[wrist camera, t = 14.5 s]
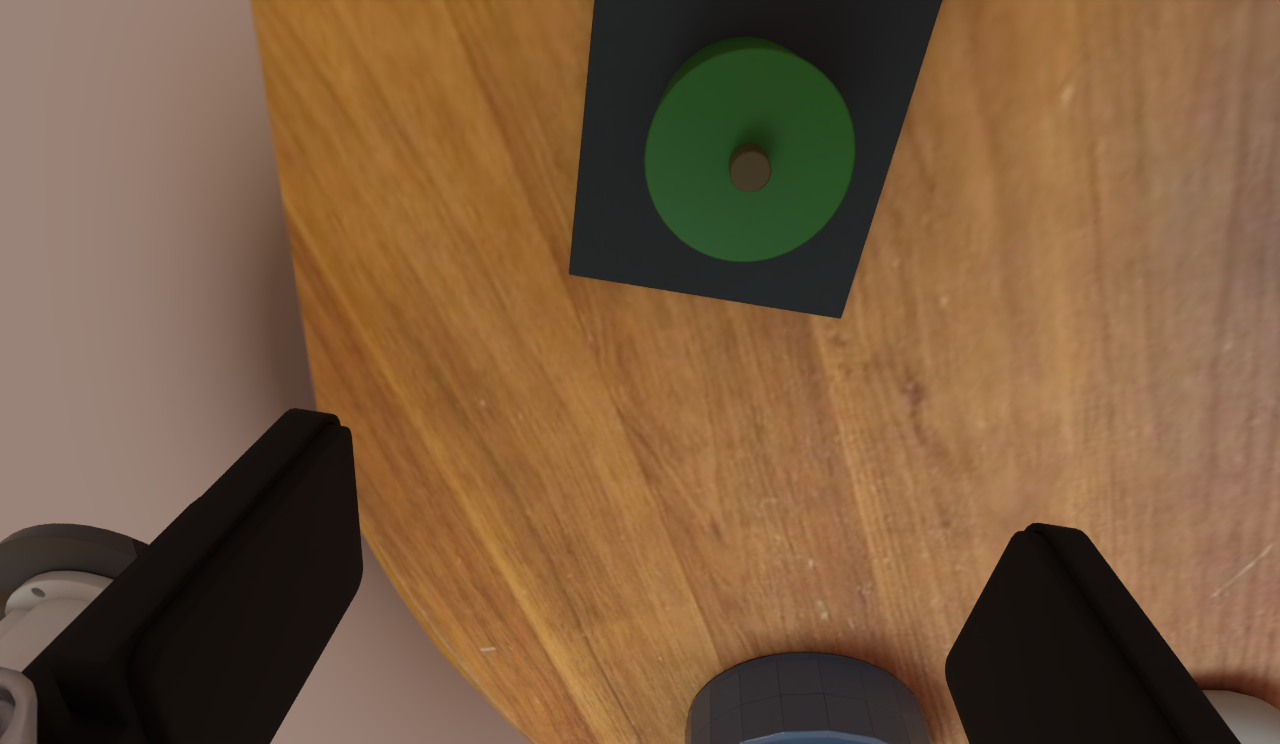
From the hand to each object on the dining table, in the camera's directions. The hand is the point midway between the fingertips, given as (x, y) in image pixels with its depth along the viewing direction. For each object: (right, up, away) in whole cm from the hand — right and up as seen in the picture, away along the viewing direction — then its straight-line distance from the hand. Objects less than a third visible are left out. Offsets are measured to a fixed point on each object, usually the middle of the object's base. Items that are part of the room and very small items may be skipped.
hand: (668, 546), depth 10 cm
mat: (+3, +12, +17) cm, 21 cm away
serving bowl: (+10, -21, +34) cm, 41 cm away
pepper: (+3, +12, +16) cm, 20 cm away
